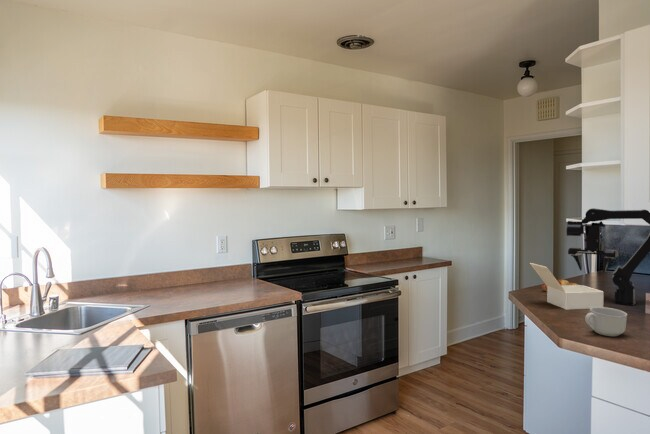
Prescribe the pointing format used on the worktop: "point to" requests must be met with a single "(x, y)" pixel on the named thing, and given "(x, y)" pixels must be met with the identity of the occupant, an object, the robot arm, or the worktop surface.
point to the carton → (575, 297)
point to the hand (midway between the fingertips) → (592, 271)
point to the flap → (547, 277)
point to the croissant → (561, 282)
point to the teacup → (606, 321)
